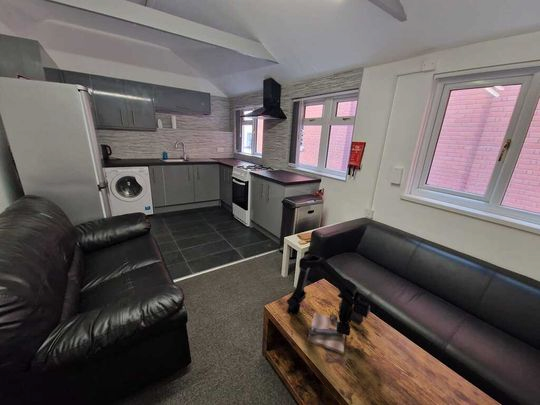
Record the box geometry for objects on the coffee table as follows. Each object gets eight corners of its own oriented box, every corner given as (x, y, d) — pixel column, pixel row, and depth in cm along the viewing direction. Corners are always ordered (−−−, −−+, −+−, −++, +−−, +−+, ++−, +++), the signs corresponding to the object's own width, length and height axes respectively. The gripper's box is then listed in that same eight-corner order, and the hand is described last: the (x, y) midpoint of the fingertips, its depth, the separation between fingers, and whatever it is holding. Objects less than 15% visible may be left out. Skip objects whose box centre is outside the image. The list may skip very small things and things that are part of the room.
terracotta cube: (328, 330, 118) (329, 327, 117) (329, 327, 120) (329, 324, 119) (334, 332, 117) (334, 329, 116) (334, 329, 119) (335, 326, 118)
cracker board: (307, 340, 114) (308, 333, 112) (314, 314, 131) (315, 308, 129) (343, 354, 108) (344, 347, 106) (345, 324, 125) (346, 318, 123)
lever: (309, 335, 115) (311, 323, 112) (308, 329, 118) (310, 317, 116) (344, 337, 114) (346, 326, 112) (342, 331, 118) (344, 320, 115)
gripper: (363, 326, 99) (358, 351, 103) (363, 298, 115) (358, 321, 120) (338, 318, 102) (334, 343, 107) (341, 292, 119) (337, 315, 124)
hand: (341, 330), depth 114 cm, fingers open, 3 cm apart
